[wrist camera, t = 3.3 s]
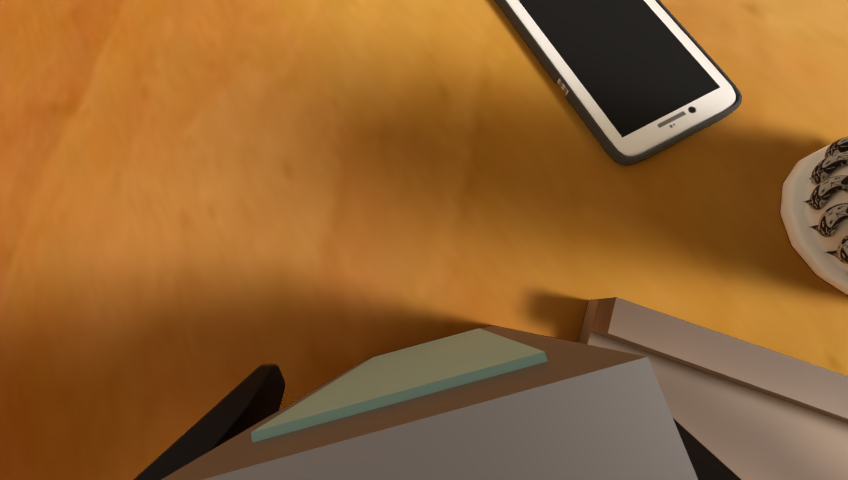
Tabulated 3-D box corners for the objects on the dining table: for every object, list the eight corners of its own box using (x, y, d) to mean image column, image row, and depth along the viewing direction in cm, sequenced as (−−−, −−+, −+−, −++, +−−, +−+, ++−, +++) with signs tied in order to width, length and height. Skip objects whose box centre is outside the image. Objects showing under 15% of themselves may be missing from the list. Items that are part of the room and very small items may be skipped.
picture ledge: (848, 603, 12) (947, 674, 10) (544, 475, 14) (566, 508, 12) (863, 395, 14) (952, 412, 12) (589, 300, 16) (616, 297, 13)
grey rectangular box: (516, 401, 15) (802, 731, 3) (379, 438, 15) (138, 923, 3) (492, 322, 16) (642, 344, 4) (363, 357, 16) (125, 487, 4)
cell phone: (585, -60, 21) (591, -77, 20) (735, 112, 18) (752, 101, 17) (482, -11, 21) (483, -27, 20) (616, 175, 17) (626, 167, 16)
